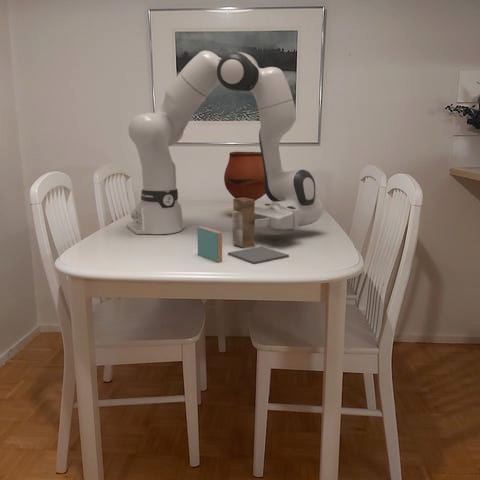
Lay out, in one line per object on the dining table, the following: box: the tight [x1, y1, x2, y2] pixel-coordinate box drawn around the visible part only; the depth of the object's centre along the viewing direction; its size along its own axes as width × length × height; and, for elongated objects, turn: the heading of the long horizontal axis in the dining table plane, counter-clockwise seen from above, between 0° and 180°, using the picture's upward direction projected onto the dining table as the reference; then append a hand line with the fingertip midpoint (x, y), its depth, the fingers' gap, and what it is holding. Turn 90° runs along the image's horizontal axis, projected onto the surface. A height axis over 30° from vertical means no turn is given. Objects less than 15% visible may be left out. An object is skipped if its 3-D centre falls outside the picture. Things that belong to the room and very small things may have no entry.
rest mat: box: [227, 245, 290, 265], centre depth 136 cm, size 12×12×1 cm
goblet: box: [223, 151, 266, 205], centre depth 192 cm, size 19×19×25 cm
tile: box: [196, 225, 223, 263], centre depth 133 cm, size 10×2×8 cm, turn 36°
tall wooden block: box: [231, 198, 255, 249], centre depth 146 cm, size 5×5×14 cm
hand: (244, 220), depth 146 cm, fingers open, 8 cm apart
